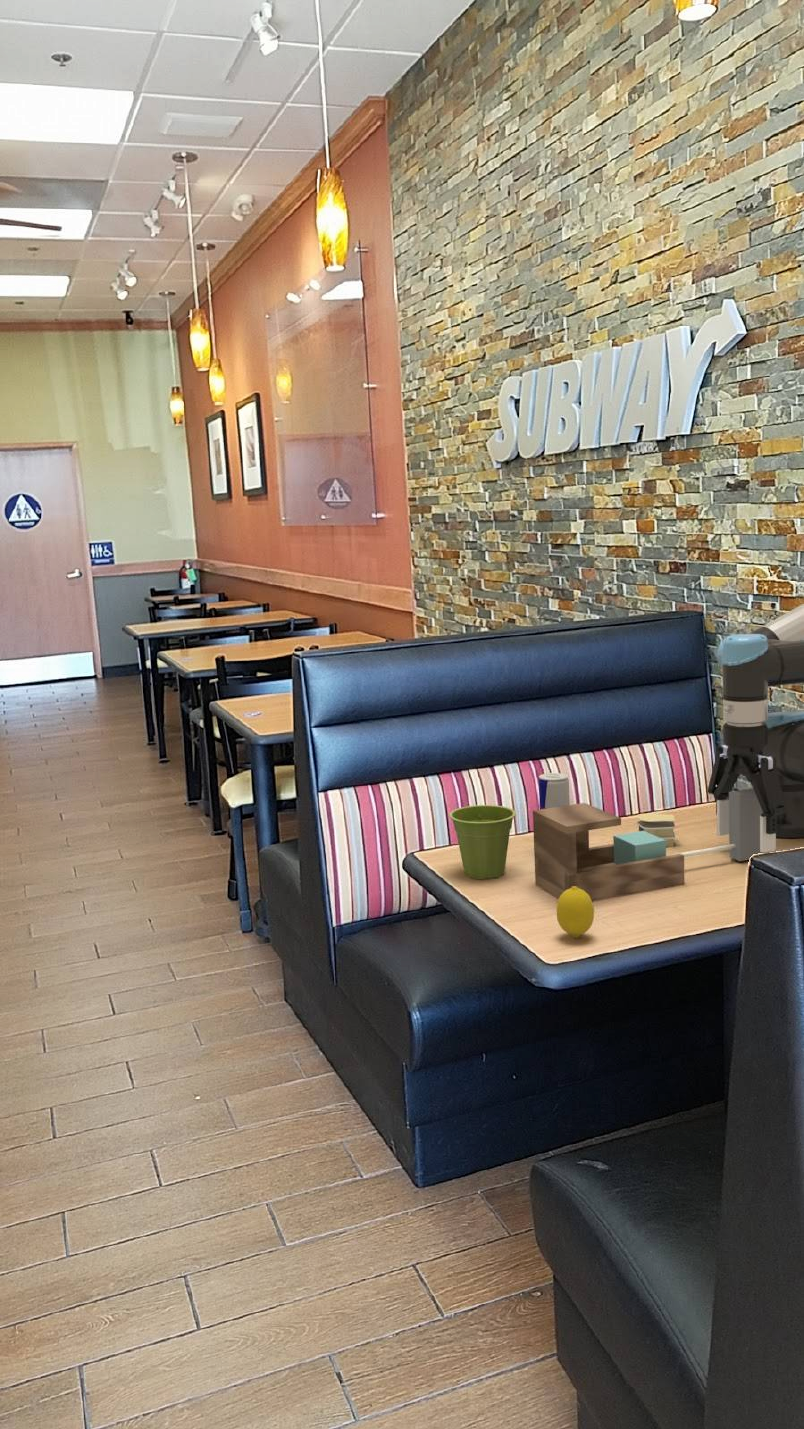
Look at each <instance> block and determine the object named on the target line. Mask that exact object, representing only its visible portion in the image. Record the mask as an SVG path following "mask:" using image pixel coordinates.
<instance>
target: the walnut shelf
mask: <svg viewBox="0 0 804 1429" xmlns="http://www.w3.org/2000/svg"><path fill="white" fill-rule="evenodd" d="M532 825H533V827H532V828H533V849H534V852H533V853H534V855H533V856H534V877H535V878H534V879H535V881H534V882H535V886H537V887H538V888H540V889H542V890H543V891H545V892H547V893H548V894H550V895H552V896H553V897H555V898H556V899H559V897H560V895H561V894H562V893H563V892H564V891H566V890H567V889H570V888H572V886H576V887H577V888H579V889H582V890H584V891H585V892H586V893H587V894H588V895H589V896H590V898H591V900H592V902H594V901H599V900H600V901H601V900H606V899H610V898H617V897H622V896H626V895H627V896H628V895H632V894H638V893H643V892H649V891H653V890H660V889H664V888H670V887H675V886H680V885H685V857H684V855H682V854H678V853H674V854H675V855H673V854H669V856H667V855H666V856H664V857H658V858H652V859H646V860H641V861H635V862H629V863H623V864H618V865H616V864H614V843H610V844H609V843H608V844H603V845H599V846H591V847H590V836H589V834H590V833H589V832H590V831H593V830H600V829H605V828H607V829H608V828H612V827H618V826H622V817H620V816H617V815H614V814H612V813H610V812H608V811H605V810H603V809H600V808H598V807H596V806H594V805H591V804H588V803H586V802H582V803H575V804H574V803H573V804H570V805H567V806H560V807H553V808H547V809H540V808H539V809H534V810H532Z"/></svg>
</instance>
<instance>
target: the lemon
mask: <svg viewBox="0 0 804 1429" xmlns="http://www.w3.org/2000/svg"><path fill="white" fill-rule="evenodd" d="M557 899H558V898H557ZM556 904H557V905H556V919H557V923H558V925H559V927H560V928H561V929H562V930H563V931H564V932H565V933H567V934H570V935H571V936H572V937H573V938H574V939H575V938H576V939H577V938H579V937H580V936H581V935H582V934H585V933H586V932H588V931H589V930H590V928H591V927H592V925H593V922H594V918H595V909H594V904H593V901H592V900H591V898H590V896H589V895H588V894H587V893H586V892H585V891H584V890H582V889H579V888H577V887H576V886H572V888H570V889H567V890H566V891H564V892H563V893H562V894H561V895H560V897H559V899H558V900H557V903H556Z"/></svg>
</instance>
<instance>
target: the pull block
mask: <svg viewBox="0 0 804 1429" xmlns="http://www.w3.org/2000/svg"><path fill="white" fill-rule="evenodd" d="M728 799H729V834H728V842H729V844H725V845H719V846H714V847H713V846H712V847H708V848H703V849H697V850H696V849H695V850H690V851H685V852H684V851H683V852H679V853H677V854H682V855H684V858H686V857H692V856H697V855H698V856H699V855H704V854H710V853H716V852H721V851H727V850H729V856H728V857H729V858H731V859H734V860H736V861H738V862H743V861H747V860H748V861H749V860H750V859H749V858H750V857H751V856H752V855H753V854H758V853H763V854H764V852H760V815H761V814H762V813H763V811H762V808H761V806H760V804H759V801H758V799H757V796H756V794H755V791H754V789H753V787H752V788H745V789H740V790H732V791H731V792H729V797H728ZM612 836H613V837H612V838H613V844H614V864H616V865H618V864H623V863H629V862H635V861H641V860H646V859H652V858H658V857H664V856H669V855H670V854H669V855H667V847H666V840H664V839H662V838H659V837H657V836H655V835H652V834H650V833H647V832H645V831H639V830H638V831H632V832H627V833H621V834H615V835H612ZM675 854H676V853H673V854H672V855H675Z"/></svg>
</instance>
